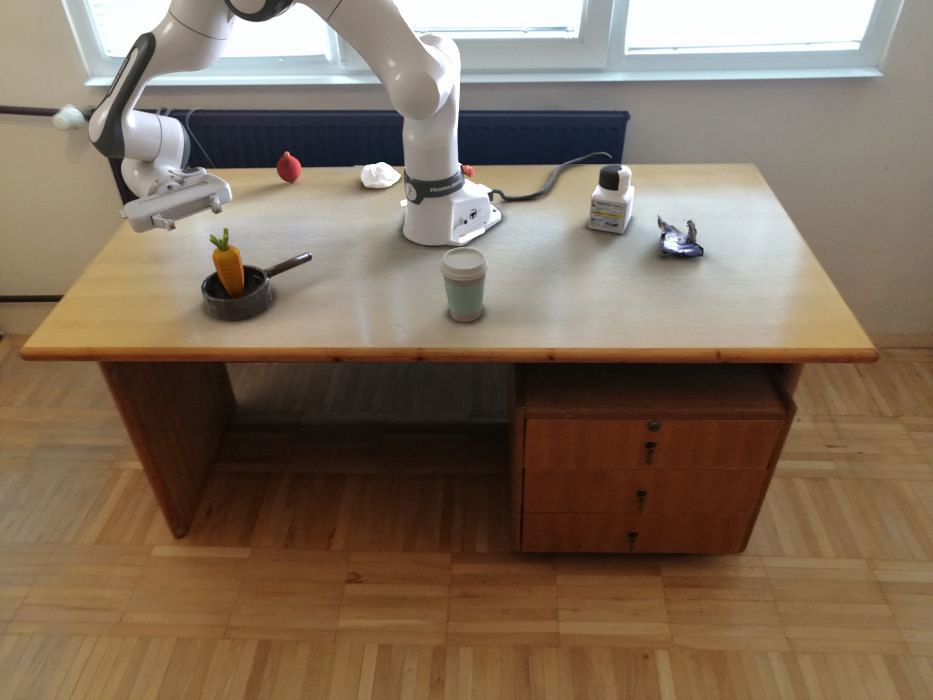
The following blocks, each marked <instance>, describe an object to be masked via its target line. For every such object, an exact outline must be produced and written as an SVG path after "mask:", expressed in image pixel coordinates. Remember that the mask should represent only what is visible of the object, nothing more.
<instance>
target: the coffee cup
mask: <svg viewBox="0 0 933 700" xmlns="http://www.w3.org/2000/svg"><path fill="white" fill-rule="evenodd" d="M439 270H440V272H441V274H442V277H443V282H444V288H445V293H446V298H447V304H448V309H449V315H450V317H451V318H452V319H453V320H455V321H457V322H461V323H468V322H473V321H475V320H478V319H479V318H480V317H481V315H482V311H483V302H484V294H485V287H486V286H485V285H486V278H487V272H488V270H489V264H488V260H487V258H486V255H485V254H484V252H483V251H482V250H480V249H478V248H474V247H470V246H458V247H455V248H451V249H449V250H447V251H446V252H445V253H444V254H443V257H442V260H441V262H440V266H439Z"/></svg>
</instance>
